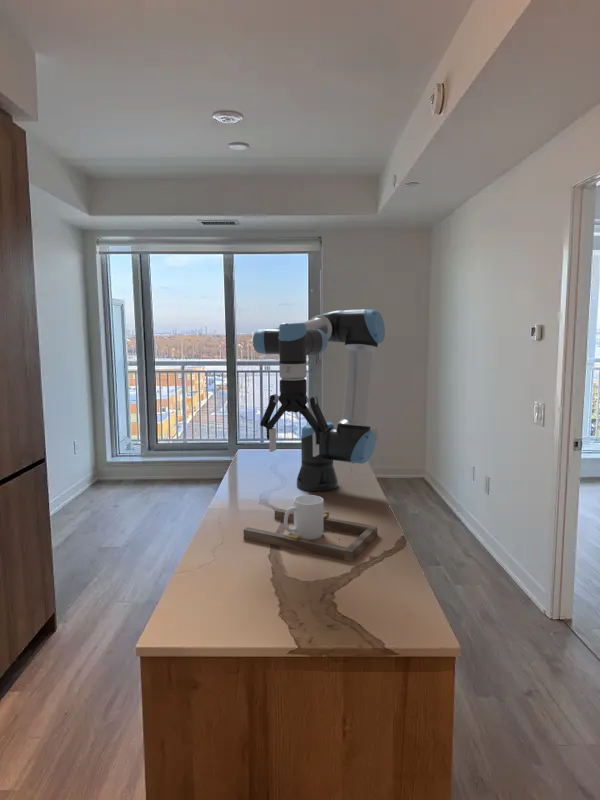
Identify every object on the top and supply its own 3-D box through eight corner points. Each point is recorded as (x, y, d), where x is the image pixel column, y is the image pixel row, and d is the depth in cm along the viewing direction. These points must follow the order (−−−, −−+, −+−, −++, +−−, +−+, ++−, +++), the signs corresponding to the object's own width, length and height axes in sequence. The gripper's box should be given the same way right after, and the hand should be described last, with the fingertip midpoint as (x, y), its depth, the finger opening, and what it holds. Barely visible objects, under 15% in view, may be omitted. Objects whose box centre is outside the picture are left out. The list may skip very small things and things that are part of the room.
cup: (329, 536, 145) (329, 501, 144) (291, 545, 139) (291, 508, 138) (313, 526, 153) (313, 493, 151) (277, 535, 146) (276, 500, 145)
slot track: (282, 513, 164) (282, 503, 163) (380, 531, 149) (381, 519, 149) (243, 538, 144) (243, 527, 144) (351, 561, 129) (351, 549, 129)
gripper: (247, 378, 147) (249, 451, 150) (329, 381, 137) (329, 460, 140) (260, 375, 154) (262, 446, 157) (339, 378, 143) (339, 454, 147)
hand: (294, 453), depth 149 cm, fingers open, 13 cm apart
